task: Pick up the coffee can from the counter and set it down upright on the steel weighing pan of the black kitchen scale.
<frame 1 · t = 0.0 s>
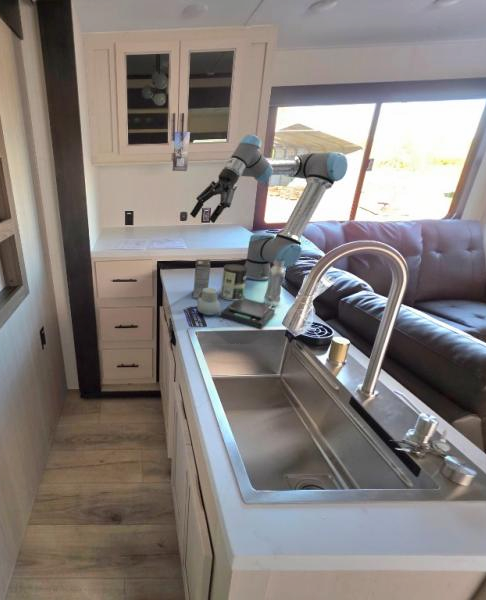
hand: (201, 218, 129), 36 cm above the counter, tool tilted 35°, fingers open, 13 cm apart
coffee can: (231, 296, 146), on the counter
scale: (247, 315, 128), on the counter
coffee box: (200, 295, 147), on the counter
air freshener: (207, 312, 130), on the counter
plastic bottle: (270, 304, 137), on the counter
scale pan: (250, 307, 127), point 3 cm above the counter, slide at 0.0 cm
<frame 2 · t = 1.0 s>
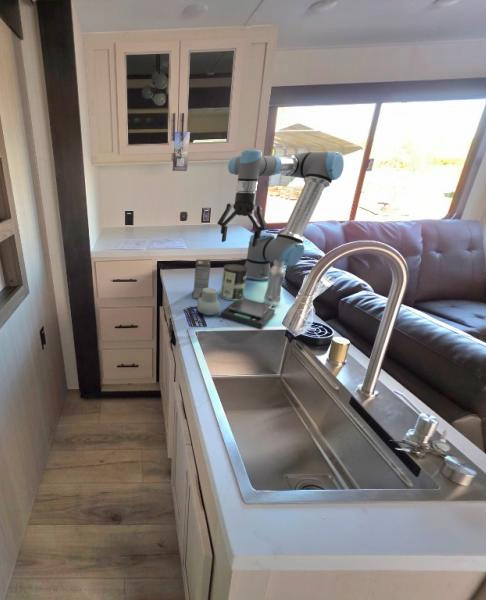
hand: (238, 243, 136), 25 cm above the counter, tool pointing down, fingers open, 13 cm apart
nothing on the counter moved.
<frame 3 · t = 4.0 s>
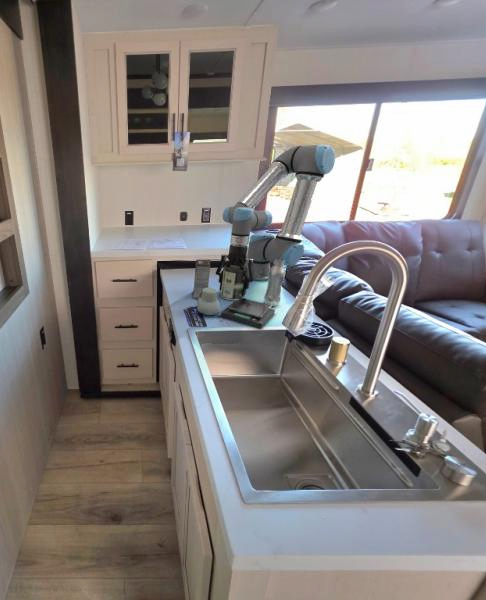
hand: (232, 292, 145), 2 cm above the counter, tool pointing down, fingers closed on coffee can, 10 cm apart
coffee can: (231, 296, 146), on the counter, touching gripper
everything else where it was.
when the fingers open (5 cm above the counter, at t = 13.0 s): coffee can stays where it is, resting on scale pan.
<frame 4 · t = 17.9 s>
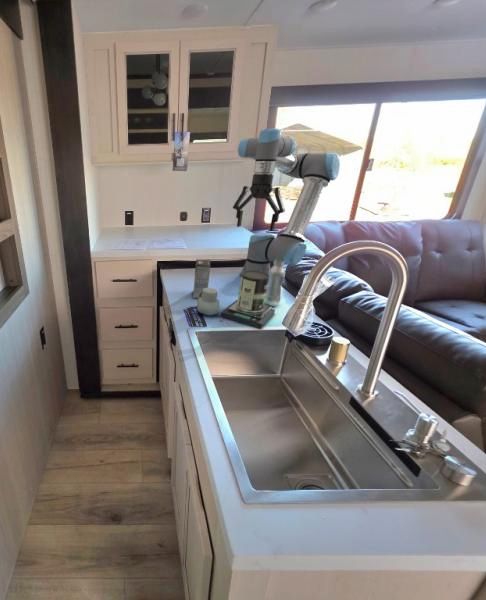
hand: (254, 228, 131), 32 cm above the counter, tool pointing down, fingers open, 13 cm apart
coffee can: (249, 307, 127), point 3 cm above the counter, touching scale pan
scale pan: (249, 308, 128), point 3 cm above the counter, slide at -0.4 cm, touching coffee can
everything else where it was.
at the end: coffee can inside the target area on the scale (0.1 cm from its centre), point 2.9 cm above the scale's base; coffee can tilted 0°; the gripper is holding nothing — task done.
